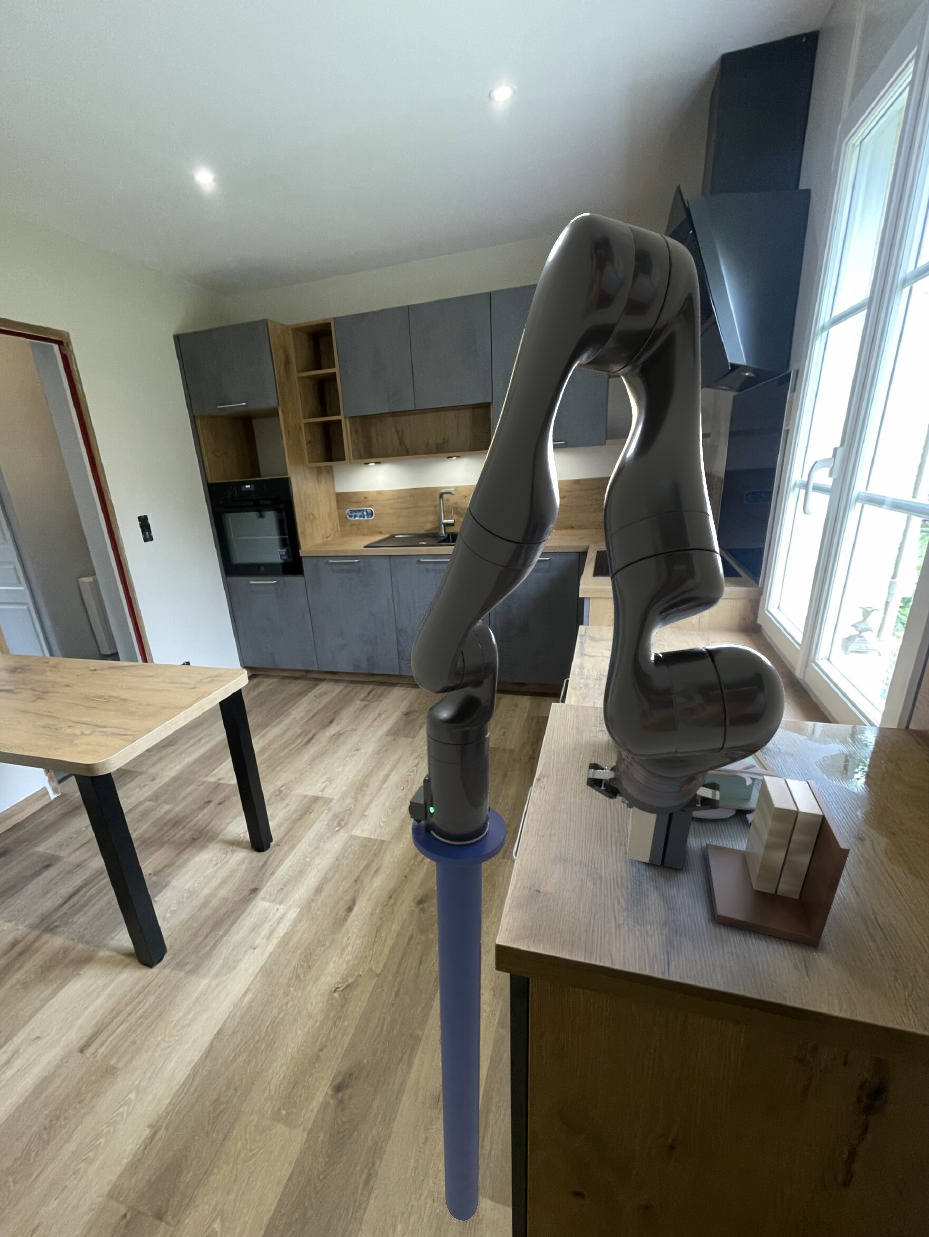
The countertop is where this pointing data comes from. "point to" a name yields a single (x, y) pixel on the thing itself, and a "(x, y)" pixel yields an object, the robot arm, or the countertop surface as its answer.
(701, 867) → the countertop surface
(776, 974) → the countertop surface
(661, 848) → the grey books
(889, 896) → the countertop surface
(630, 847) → the ivory book
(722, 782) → the ornate book
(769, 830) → the book stand
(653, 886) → the countertop surface
